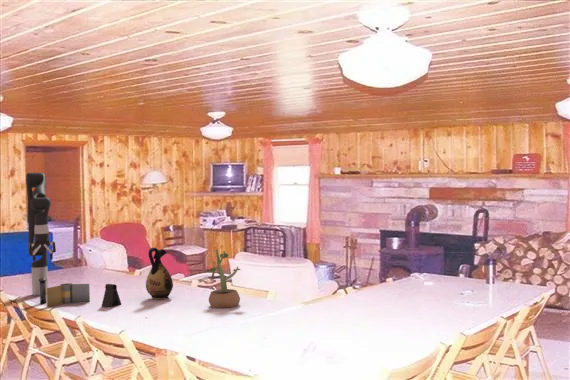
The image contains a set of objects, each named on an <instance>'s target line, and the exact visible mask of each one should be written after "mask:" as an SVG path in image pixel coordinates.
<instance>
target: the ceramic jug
mask: <svg viewBox="0 0 570 380" xmlns="http://www.w3.org/2000/svg"><path fill="white" fill-rule="evenodd" d="M153 252H154V255H153ZM165 255H167V251H166V250H165V249H158V248H157V247H150V248H149V250H148V258H149V261H150V264H151V269H150V271H149V273H148V274H147V276H146V281H145V289H146V291H147V293H148V294H149V295H150V296H151V299H152V300H165V299H166V300H167V299H169V296H170V295H171V293H172V291H173V287H174V282H173V279H172V276H171V274H170V272H169V270H168V268H166V266H165V265H164V264H163V262H162V260H161V258H162V257H164V256H165Z"/></svg>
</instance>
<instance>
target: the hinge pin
mask: <svg viewBox="0 0 570 380" xmlns="http://www.w3.org/2000/svg"><path fill="white" fill-rule="evenodd" d="M38 281H40V296H39V304H40V305H45V304H47V300H46V281H47V279H46V278H42V279H38Z"/></svg>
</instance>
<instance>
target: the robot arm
mask: <svg viewBox="0 0 570 380" xmlns="http://www.w3.org/2000/svg"><path fill="white" fill-rule="evenodd" d="M25 183H26V184H25V185H26V195H27V196H26V198H27V227H28V236H27V237H28V240H27V241H28V242H27V243H28V244H27V248H28V249H27V251H28V252H27V253H28V255H29V257H32V262H31V266H30V267H31V286H32V287H31V290H32V292H31V293H32V296H34V297H35V296H37V297H38V296H39V297H40V281H38V279H42V278H46V279H47V281H46V288H49V274H48V272H49V269H48V254H49V261H52V260H53V257H54V256H53V254H54V253H56V251H57V249H56V242H55V241H51V242H50V233H49V232H50V229H49V211H50V207H51V204H52V202H51V199H50V198H49V197H47V194H46V188H47V180H46V175H45V173H43V172H27V173H26V176H25ZM50 246H51V247H52V250H51V249H50ZM39 256H41V257H40V258H39V259H37V260H36V257H39Z"/></svg>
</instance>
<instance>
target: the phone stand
mask: <svg viewBox="0 0 570 380" xmlns="http://www.w3.org/2000/svg"><path fill="white" fill-rule="evenodd" d="M117 287H118V285H117V284H116V283H115V284H113V283H106V284H105V286H104V288H105V290H104V294H103V298H102V303H101V307H102V308H108V309H110V308H114V307H117V306H122V302H121V299H120V295H119V292H118V288H117Z"/></svg>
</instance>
